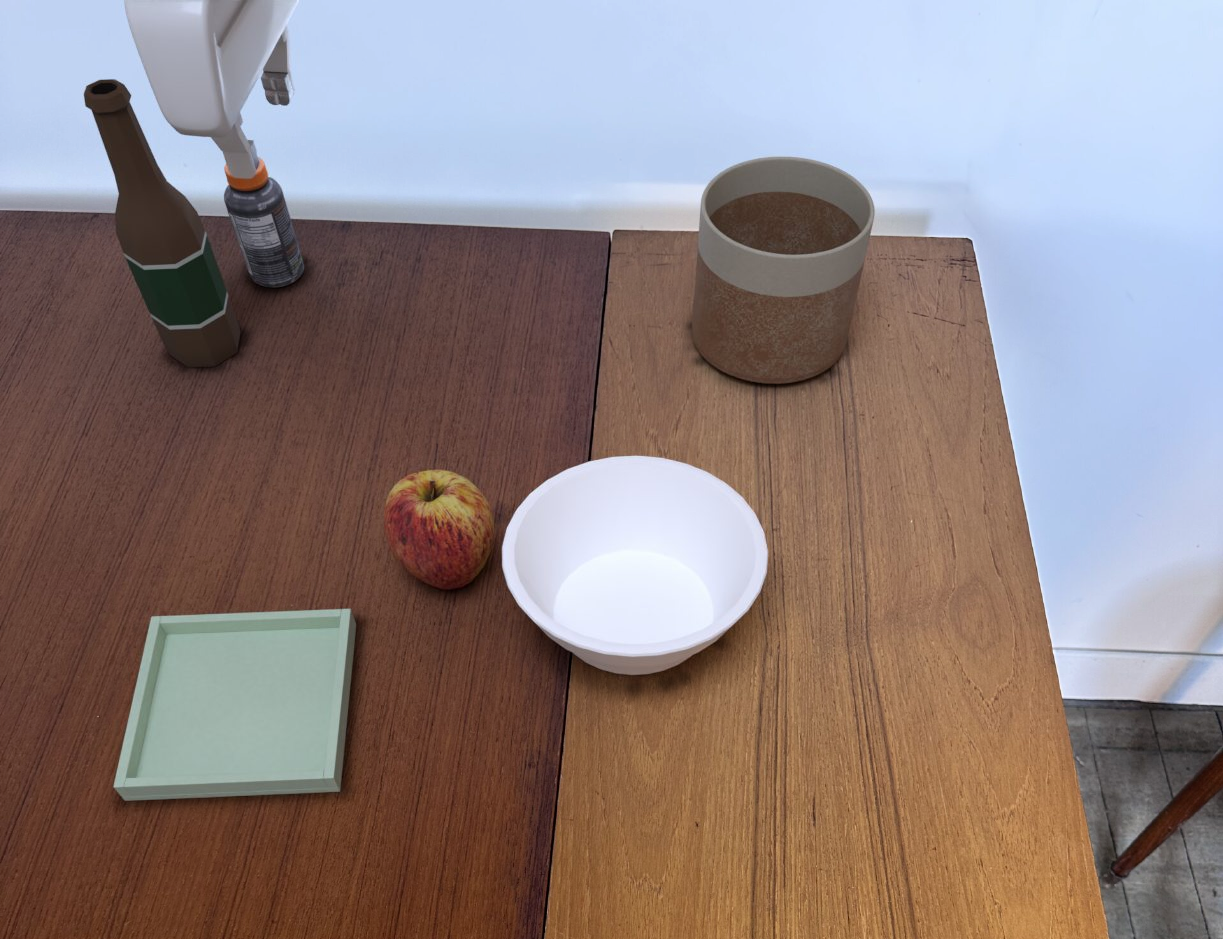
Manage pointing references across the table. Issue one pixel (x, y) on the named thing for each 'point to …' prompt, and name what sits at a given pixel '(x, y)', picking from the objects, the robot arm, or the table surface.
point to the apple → (439, 527)
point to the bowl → (634, 561)
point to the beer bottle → (163, 240)
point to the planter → (779, 267)
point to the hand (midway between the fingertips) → (264, 135)
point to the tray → (239, 706)
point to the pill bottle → (263, 228)
